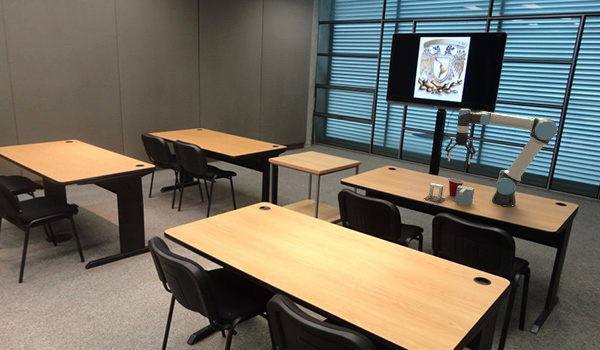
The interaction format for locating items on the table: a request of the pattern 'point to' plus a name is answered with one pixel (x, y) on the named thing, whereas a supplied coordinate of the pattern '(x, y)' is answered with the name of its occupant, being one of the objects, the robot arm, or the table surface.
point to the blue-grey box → (464, 195)
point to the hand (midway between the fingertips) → (458, 162)
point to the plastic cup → (454, 186)
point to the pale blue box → (436, 187)
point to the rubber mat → (434, 199)
